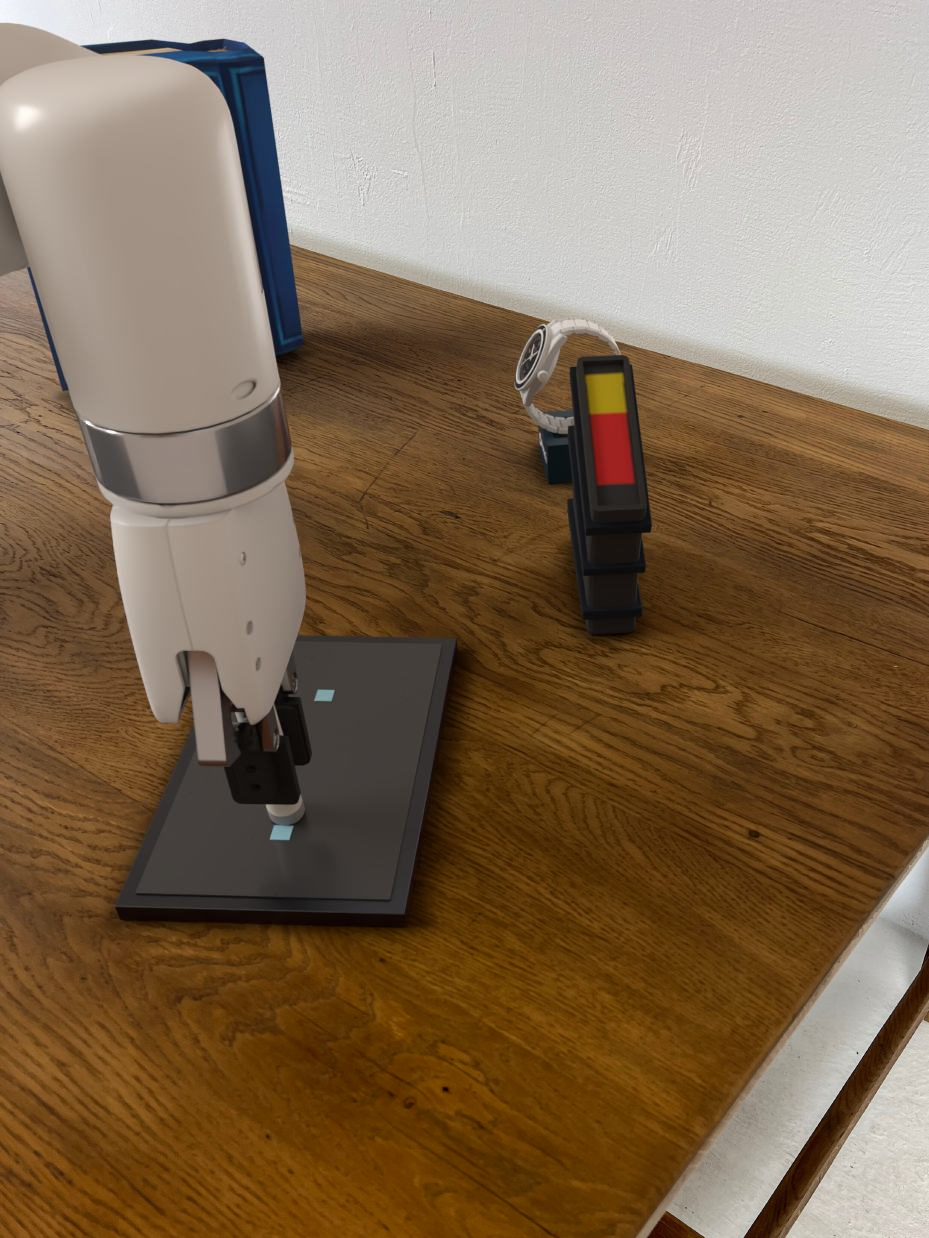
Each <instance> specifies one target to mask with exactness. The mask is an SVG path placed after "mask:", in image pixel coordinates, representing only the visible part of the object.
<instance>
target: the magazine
mask: <svg viewBox="0 0 929 1238" xmlns="http://www.w3.org/2000/svg"><path fill="white" fill-rule="evenodd" d="M569 385H570V396H571V405H572V406H571V407H572V410H573V416H574V425H573V426H568V445H569V454H570V463H571V472H572V481H573V482H572V497H571V498H570V497H569V498H568V497H567V500H566V512H567V513H566V514H567V520H568V528H569V535H570V541H571V548H572V556H573V562H574V569H575V577H576V585H577V590H578V598H579V605H580V612H581V619H582V620H583V621H585V627H586V631H587V633H588V635H592V636H594V635H596V636H597V635H610V634H611V635H613V634H629V633H634V631H635V629H636V621H637V620H636V618H642V617H643V615H644V607H643V601H642V596H641V591H640V590H641V589H640V585H639V580H638V579H639V574H645V573H646V571H647V563H646V556H645V548H644V540H643V534H650V533H652V528H653V520H652V512H651V505H650V497H649V488H648V479H647V473H646V466H645V465H646V464H645V457H644V449H643V440H642V433H641V426H640V425H641V423H640V417H639V410H638V409H639V408H638V401H637V394H636V392H637V391H636V384H635V377H634V367H633V364H632V363H630V358H629V357H628V355H624V354H621V355H614V354H612V355H611V354H610V355H590V356H589V355H587V356H580V357H578V358H577V361H576V366H570V367H569Z"/></svg>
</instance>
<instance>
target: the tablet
mask: <svg viewBox="0 0 929 1238" xmlns="http://www.w3.org/2000/svg"><path fill="white" fill-rule="evenodd" d="M458 648H459V647H458V638H456V637H421V636H420V637H417V636H416V637H415V636H414V637H412V636H365V635H363V636H358V635H357V636H356V635H310V634H309V635H305V634H303V635H302V634H300V635H299V634H298V635H297V638H296V641H295V644H294V647H293V650H292V652H293V656H294V661H295V666H296V670H297V675H298V689H297V693H296V694H295V695H292V694H288V695H289V697H300V698H301V702H302V707H303V712H304V717H305V721H306V726H307V731H308V736H309V740H310V745H311V750H312V756H311V760H310V762H309V763H308V764H306V765H304V766H295V769H296V774H297V778H298V783H299V787H300V791H301V796H302V799H303V802H304V806H305V812H304V814H303V816H302V818H301V819H300V820H299V821H297V822H296V823H294V824H291V825H278V824H276V823H274V822H273V821H272V820H271V819H270V817H269V814H268V811H267V808H266V804H239V803H237V802H235V801H234V800H233V798H232V795H231V791H230V788H229V784H228V781H227V777H226V774H225V770H224V767H208V766H200V765H199V763H198V756H197V747H196V737H195V728H194V723H193V725H192V727H191V729H190V731H189V734H188V735H187V738H186V741H185V743H184V745H183V748H182V750H181V751H180V754H179V756H178V758H177V761H176V764H175V765H174V768H173V771H172V773H171V775H170V778H169V780H168V782H167V784H166V787H165V789H164V791H163V794H162V796H161V799H160V801H159V803H158V805H157V807H156V809H155V812H154V814H153V817H152V819H151V822H150V823H149V826H148V829H147V830H146V833H145V835H144V837H143V840H142V842H141V844H140V847H139V849H138V851H137V854H136V856H135V858H134V860H133V863H132V864H131V868H130V869H129V872H128V875H127V877H126V879H125V881H124V884H123V886H122V888H121V890H120V892H119V896H118V897H117V900H116V902H115V904H114V909H115V911H116V914H117V917H118V918H119V920H128V921H129V920H131V921H132V920H133V921H163V922H164V921H165V922H167V921H168V922H169V921H172V922H203V923H205V922H207V923H242V924H277V925H278V924H281V925H315V926H349V927H350V926H353V927H354V926H355V927H356V926H357V927H386V928H387V927H392V928H393V927H394V928H406V927H407V925H408V920H409V916H410V909H411V904H412V899H413V893H414V888H415V882H416V878H417V874H418V873H417V872H418V867H419V861H420V857H421V856H420V855H421V851H422V845H423V840H424V834H425V831H426V825H427V818H428V812H429V807H430V802H431V798H432V796H431V795H432V791H433V786H434V781H435V775H436V770H437V765H438V760H439V759H438V758H439V754H440V749H441V743H442V737H443V733H444V727H445V721H446V716H447V711H448V705H449V701H450V694H451V690H452V685H453V680H454V679H453V678H454V674H455V668H456V662H457V657H458V651H459V649H458ZM231 714H232V722H237V721H236V717H235V713H234V712H231Z"/></svg>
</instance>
